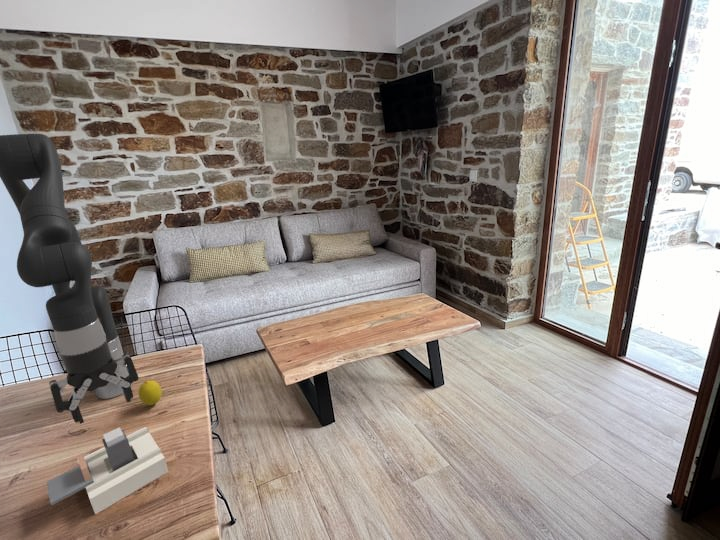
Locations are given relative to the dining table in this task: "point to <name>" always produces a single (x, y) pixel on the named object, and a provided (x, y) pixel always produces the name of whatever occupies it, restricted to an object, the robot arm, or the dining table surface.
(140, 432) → the socket
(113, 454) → the plug
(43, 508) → the dining table surface
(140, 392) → the lemon
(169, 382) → the dining table surface
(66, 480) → the panel
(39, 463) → the dining table surface
